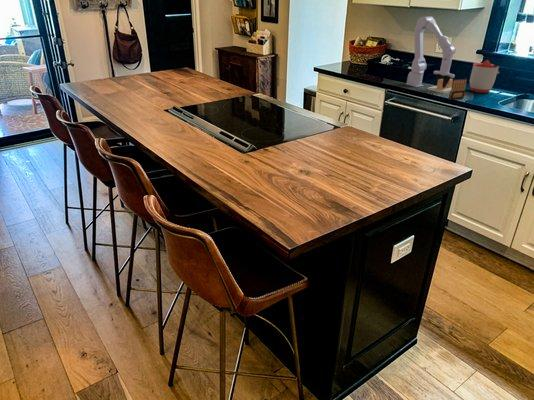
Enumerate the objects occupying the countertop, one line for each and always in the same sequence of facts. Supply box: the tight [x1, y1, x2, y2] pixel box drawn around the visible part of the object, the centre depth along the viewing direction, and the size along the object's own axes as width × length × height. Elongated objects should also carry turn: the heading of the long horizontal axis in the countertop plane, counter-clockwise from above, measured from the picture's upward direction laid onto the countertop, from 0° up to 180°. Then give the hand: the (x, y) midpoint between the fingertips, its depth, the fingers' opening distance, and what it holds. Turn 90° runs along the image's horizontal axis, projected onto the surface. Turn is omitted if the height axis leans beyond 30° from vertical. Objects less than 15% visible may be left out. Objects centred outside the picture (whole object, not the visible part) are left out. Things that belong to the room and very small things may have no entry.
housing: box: [427, 78, 454, 95], centre depth 279 cm, size 13×14×7 cm
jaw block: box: [436, 78, 444, 90], centre depth 277 cm, size 4×4×7 cm
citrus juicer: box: [469, 59, 500, 94], centre depth 277 cm, size 16×17×20 cm
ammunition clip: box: [448, 78, 467, 101], centre depth 258 cm, size 11×2×12 cm, turn 113°
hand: (441, 86), depth 278 cm, fingers closed on jaw block, 3 cm apart
